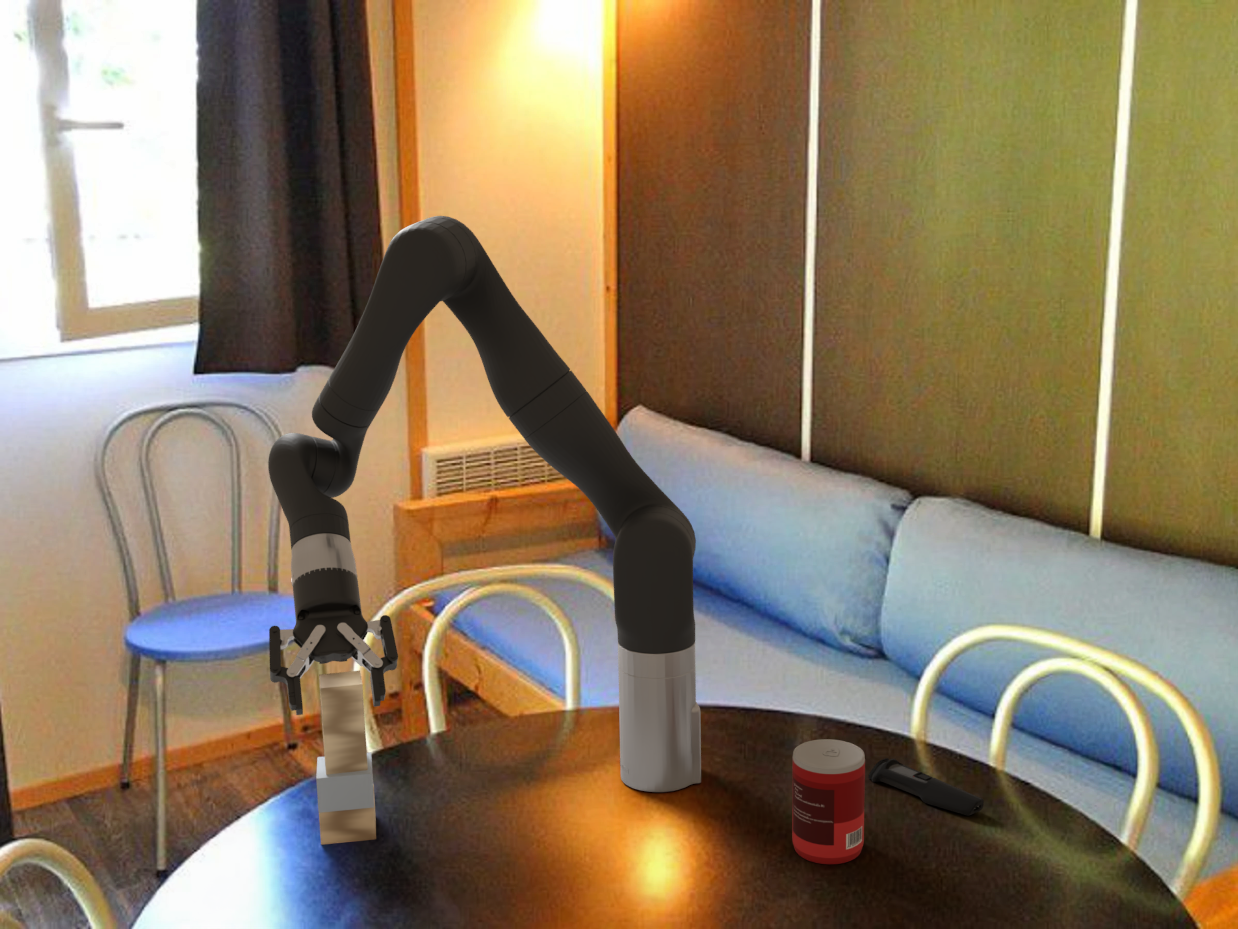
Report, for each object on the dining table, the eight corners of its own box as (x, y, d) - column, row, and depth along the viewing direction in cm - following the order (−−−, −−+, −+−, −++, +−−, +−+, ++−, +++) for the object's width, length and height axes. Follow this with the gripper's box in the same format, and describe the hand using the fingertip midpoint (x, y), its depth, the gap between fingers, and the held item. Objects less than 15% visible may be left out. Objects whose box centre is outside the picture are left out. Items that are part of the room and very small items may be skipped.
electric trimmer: (968, 829, 158) (969, 802, 158) (865, 782, 170) (866, 757, 170) (990, 820, 161) (991, 793, 160) (887, 774, 173) (888, 749, 172)
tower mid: (373, 785, 162) (371, 752, 162) (374, 807, 157) (372, 773, 156) (319, 790, 161) (317, 757, 161) (318, 812, 156) (316, 778, 155)
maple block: (365, 754, 161) (359, 670, 159) (367, 770, 157) (362, 684, 155) (324, 759, 160) (318, 674, 158) (326, 774, 156) (320, 688, 154)
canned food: (861, 832, 157) (862, 739, 155) (866, 867, 149) (867, 769, 147) (791, 831, 158) (791, 737, 155) (792, 865, 150) (793, 767, 148)
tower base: (375, 816, 163) (373, 784, 163) (376, 840, 158) (374, 806, 157) (322, 821, 162) (320, 789, 162) (321, 845, 157) (318, 811, 156)
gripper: (262, 571, 162) (272, 701, 153) (387, 560, 166) (404, 686, 157) (263, 602, 168) (273, 729, 160) (384, 591, 172) (401, 714, 163)
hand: (338, 708), depth 158 cm, fingers open, 8 cm apart
